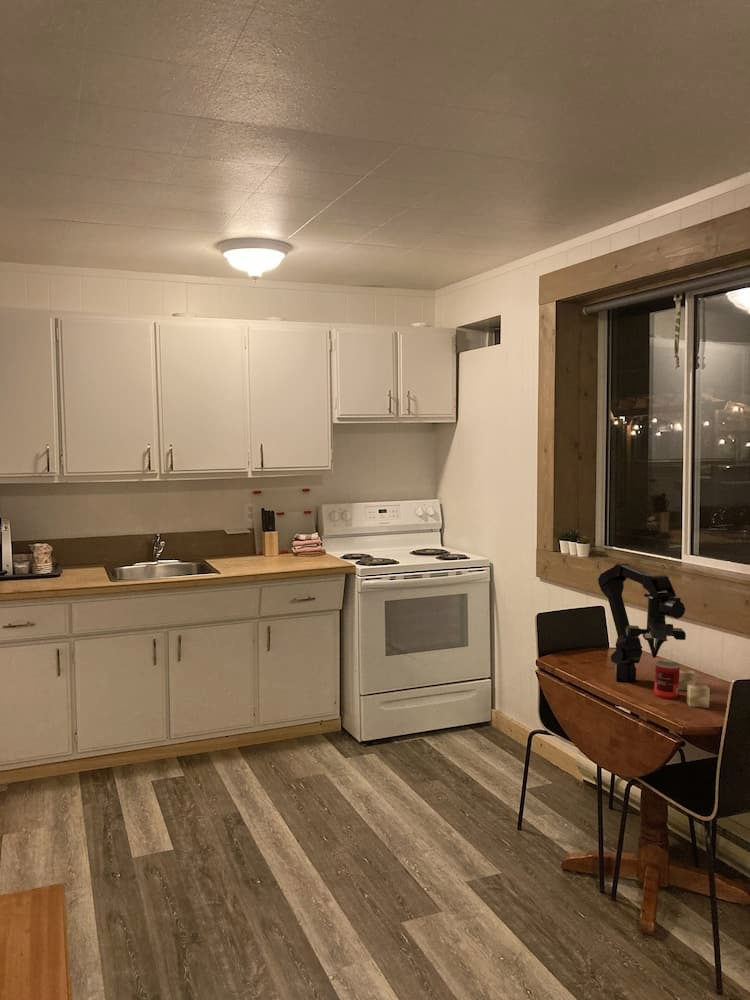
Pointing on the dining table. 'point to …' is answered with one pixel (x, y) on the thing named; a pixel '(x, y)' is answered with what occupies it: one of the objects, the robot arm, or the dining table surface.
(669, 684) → the canned food
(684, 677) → the grey-green block
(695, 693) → the beech block
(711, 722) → the dining table surface
